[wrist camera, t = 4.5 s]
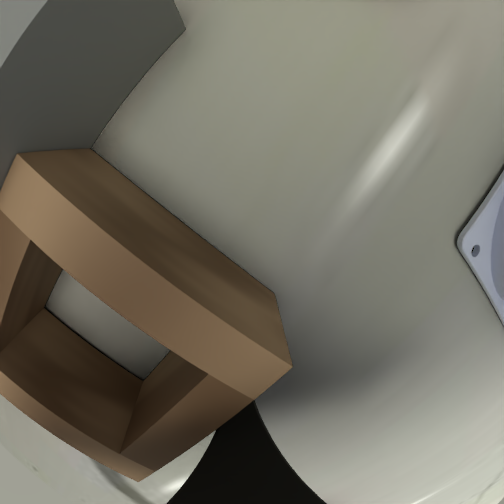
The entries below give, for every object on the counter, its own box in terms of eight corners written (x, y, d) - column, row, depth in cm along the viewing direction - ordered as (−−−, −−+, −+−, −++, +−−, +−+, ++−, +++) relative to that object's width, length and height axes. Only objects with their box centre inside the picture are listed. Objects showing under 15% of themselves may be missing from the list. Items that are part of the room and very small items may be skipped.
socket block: (274, 293, 11) (293, 366, 7) (155, 412, 12) (138, 482, 9) (89, 148, 9) (16, 153, 5) (13, 308, 11) (-39, 356, 7)
